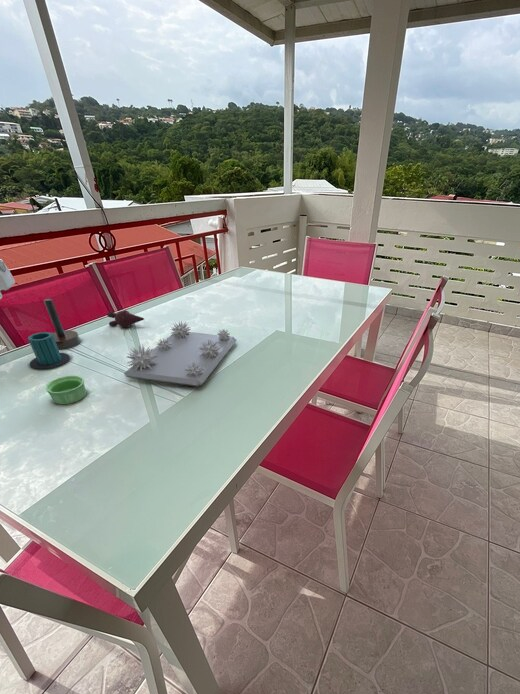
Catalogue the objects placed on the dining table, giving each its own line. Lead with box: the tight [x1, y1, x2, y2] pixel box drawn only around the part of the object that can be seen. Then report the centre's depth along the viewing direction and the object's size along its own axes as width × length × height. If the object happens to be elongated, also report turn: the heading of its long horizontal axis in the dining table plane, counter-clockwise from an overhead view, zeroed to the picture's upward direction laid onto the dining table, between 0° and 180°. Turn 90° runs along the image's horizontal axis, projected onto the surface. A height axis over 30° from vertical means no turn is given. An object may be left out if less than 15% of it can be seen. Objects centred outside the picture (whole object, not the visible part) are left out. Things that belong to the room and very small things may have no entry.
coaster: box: [29, 352, 71, 371], centre depth 108 cm, size 11×11×1 cm
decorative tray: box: [123, 320, 237, 388], centre depth 111 cm, size 35×26×10 cm
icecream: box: [106, 309, 145, 328], centre depth 133 cm, size 7×7×15 cm
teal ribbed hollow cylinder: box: [27, 331, 62, 365], centre depth 106 cm, size 6×6×8 cm
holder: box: [43, 298, 81, 350], centre depth 115 cm, size 10×10×16 cm
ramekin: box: [45, 375, 87, 405], centre depth 92 cm, size 9×9×4 cm
